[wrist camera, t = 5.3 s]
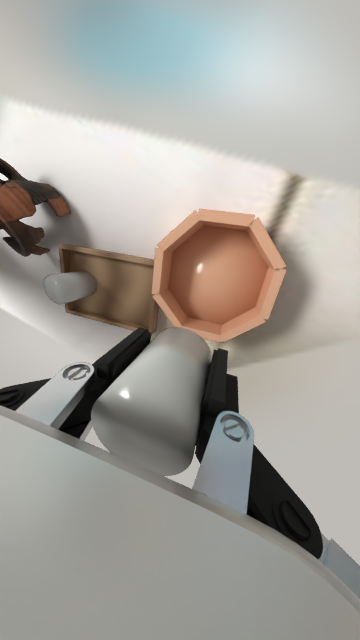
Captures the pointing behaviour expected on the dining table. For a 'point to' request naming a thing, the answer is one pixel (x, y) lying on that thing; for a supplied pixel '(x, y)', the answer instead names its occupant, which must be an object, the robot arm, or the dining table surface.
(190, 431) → the stone
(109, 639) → the robot arm
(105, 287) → the tray
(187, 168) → the dining table surface
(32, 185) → the brown piece
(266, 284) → the bowl
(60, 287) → the stone
